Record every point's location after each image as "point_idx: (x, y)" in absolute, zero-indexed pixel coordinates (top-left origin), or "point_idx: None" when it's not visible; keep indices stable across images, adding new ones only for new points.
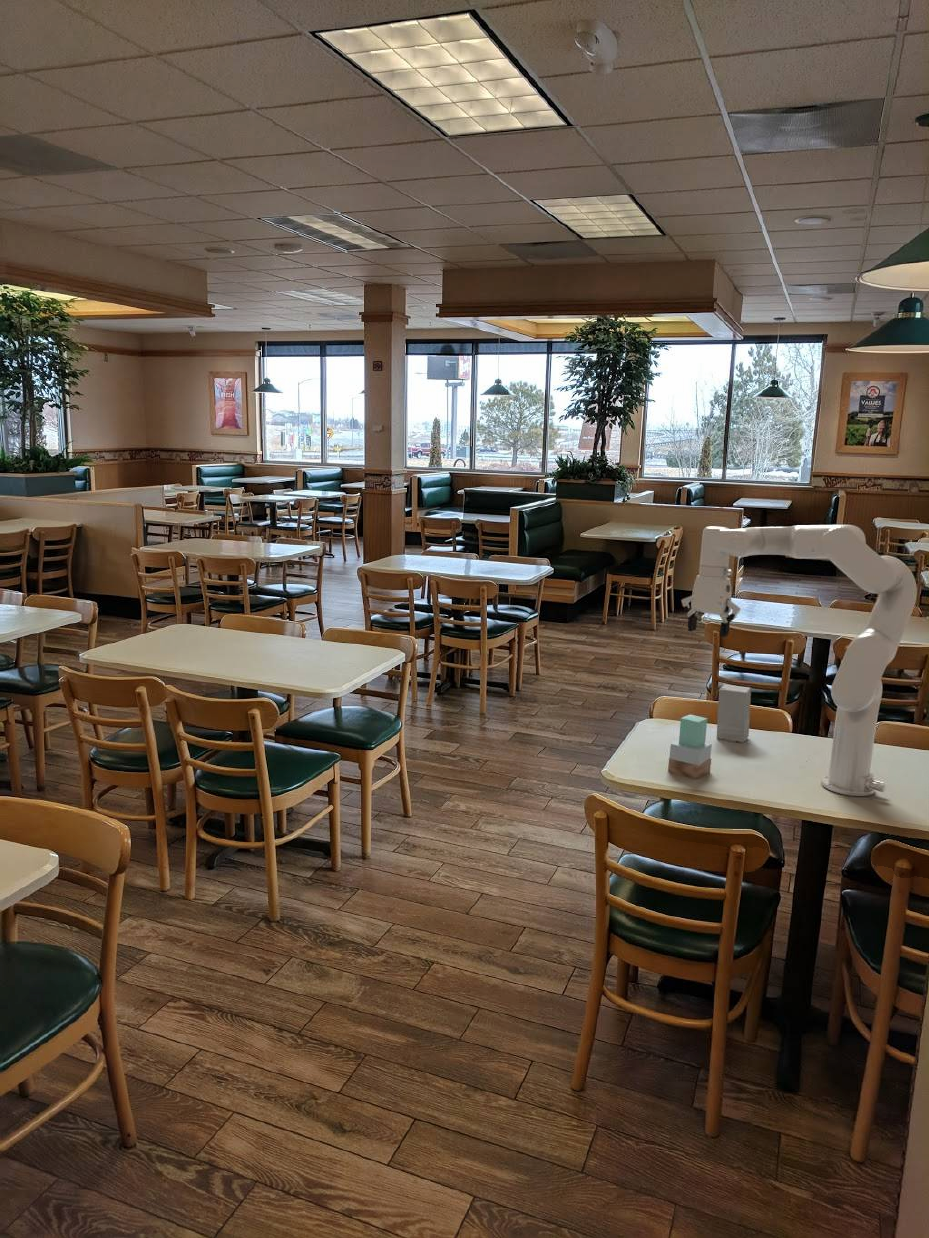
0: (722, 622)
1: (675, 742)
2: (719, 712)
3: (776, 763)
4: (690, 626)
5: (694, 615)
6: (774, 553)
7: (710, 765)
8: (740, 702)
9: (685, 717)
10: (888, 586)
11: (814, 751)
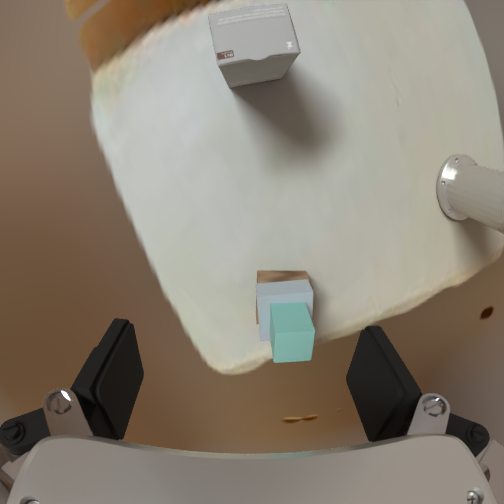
0: (379, 440)
1: (262, 330)
2: (228, 78)
3: (369, 147)
4: (133, 395)
5: (99, 425)
6: None
7: (307, 276)
8: (282, 63)
9: (278, 354)
10: None
11: (385, 43)
